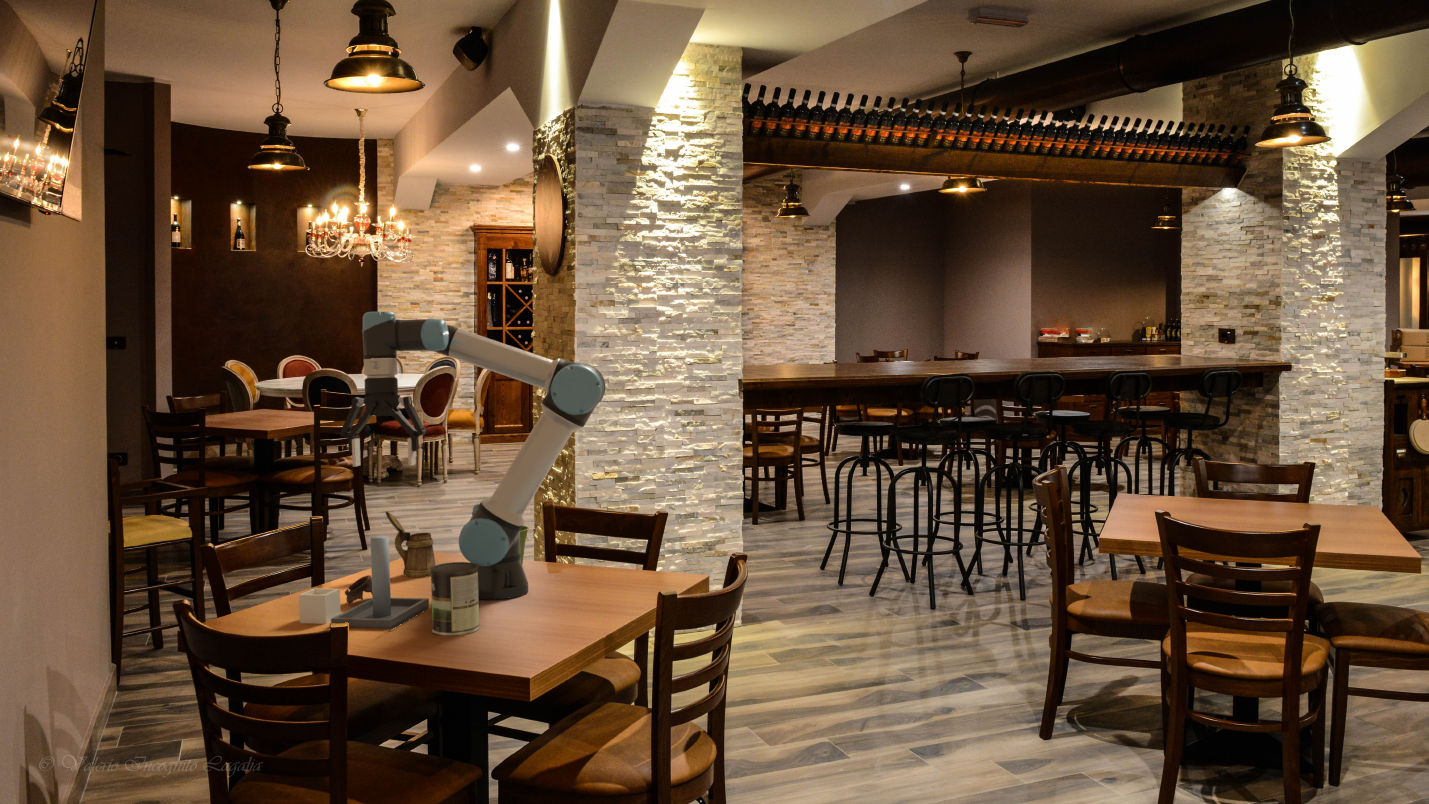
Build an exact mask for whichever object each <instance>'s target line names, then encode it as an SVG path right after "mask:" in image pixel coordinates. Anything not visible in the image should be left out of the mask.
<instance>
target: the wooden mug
mask: <svg viewBox="0 0 1429 804" xmlns="http://www.w3.org/2000/svg"><path fill="white" fill-rule="evenodd" d="M385 516H386V517H387V519H388V521H389V522H390V524H391V525H392V527H394V529H395V530H396V531H397V534H396V535H395V538H394V546H395V549H396V551H397V553H398V554H399V556H400V557H401V559H402V561H403V565H404V568H403V572H402V574H403V575H404V576H405V575H406V576H405V577H407V576H408V578H425V576H427V577H431V572H430V568H431V567H433V566H436V565H437V563H436V558H435V553H434V546H433V545H434V540H433V538H432V534H431V532H416V533H413V534H411V533H410V531H406V530H405V529H404V527H403V526H402V524H401V523H400V521H399V520H398V519H397V517H395V516H394V514H391V512H388V511H385ZM404 542H405V547H407V549H403V546H402V544H403V543H404Z"/></svg>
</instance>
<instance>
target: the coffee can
mask: <svg viewBox="0 0 1429 804" xmlns="http://www.w3.org/2000/svg"><path fill="white" fill-rule="evenodd" d="M430 572H431V576H430V583H431V589H430V590H431V620H432V621H431V622H432V624H431V625H432V626H431V627H432V628H431V630H432V631H431V632H432V633H433V634H434V633H435V634H434V635H437V634H438V635H437V636H442V635H443V636H444V637H454V636H455V635H458V636H464V635H469V634H472V633H475V632H477V631H479V629H480V612H479V611H480V609H479V599H478V565H477V564H475V563H471V562H469V561H468V562H467V561H453V562H445V563H439V564H436V566H433V567H431V568H430ZM468 633H469V634H468ZM463 634H464V635H463ZM455 637H456V636H455Z"/></svg>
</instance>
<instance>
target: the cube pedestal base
mask: <svg viewBox="0 0 1429 804" xmlns="http://www.w3.org/2000/svg"><path fill="white" fill-rule="evenodd" d="M340 590H341V589H340V588H320V587H319V588H317V587H315V588H312V589H309V590H307V591H304V592H302V593H300V594H298V605H299V607H298V609H299V610H298V611H299V624H316V625H317V624H320V625H325V624H329V623H331V619H332V618H333V617H335V616H337V615H339V614H341V591H340Z"/></svg>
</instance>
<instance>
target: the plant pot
mask: <svg viewBox="0 0 1429 804" xmlns="http://www.w3.org/2000/svg"><path fill="white" fill-rule="evenodd" d="M529 530H530V527H529V525H528V526H527V525H523V527H522V529H521V530H520V555H521V564H522V566H523V565H524V564H523V563H524V555H525V547H526V540H527V538H528V537H527V536H528V531H529Z"/></svg>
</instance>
